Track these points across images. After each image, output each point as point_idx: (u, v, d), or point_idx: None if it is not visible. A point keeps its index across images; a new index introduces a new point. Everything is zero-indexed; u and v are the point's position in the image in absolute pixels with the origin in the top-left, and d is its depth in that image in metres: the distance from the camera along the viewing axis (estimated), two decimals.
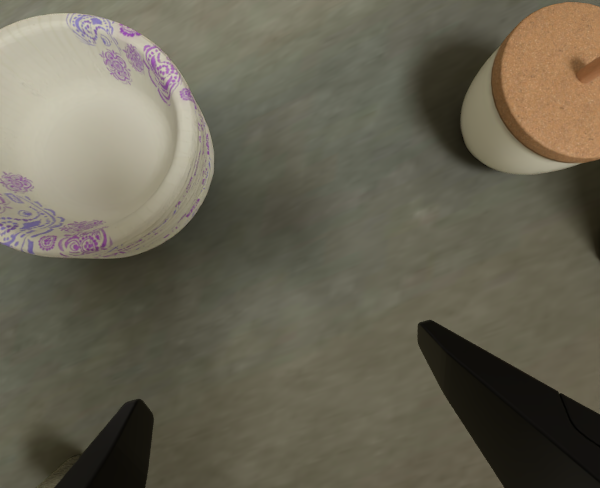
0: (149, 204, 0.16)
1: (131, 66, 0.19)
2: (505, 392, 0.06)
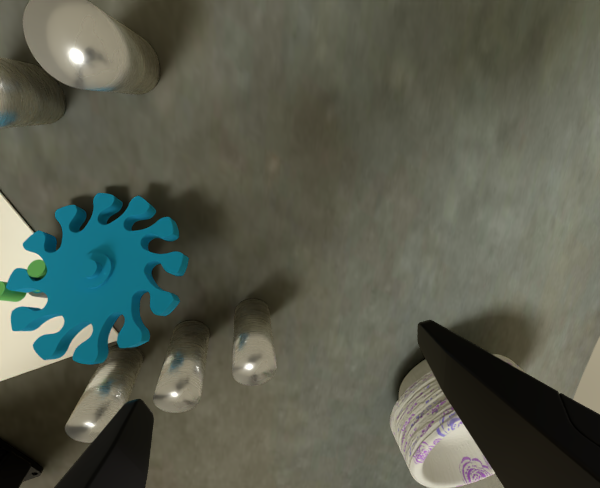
0: (421, 477, 0.27)
1: None
2: (505, 392, 0.06)
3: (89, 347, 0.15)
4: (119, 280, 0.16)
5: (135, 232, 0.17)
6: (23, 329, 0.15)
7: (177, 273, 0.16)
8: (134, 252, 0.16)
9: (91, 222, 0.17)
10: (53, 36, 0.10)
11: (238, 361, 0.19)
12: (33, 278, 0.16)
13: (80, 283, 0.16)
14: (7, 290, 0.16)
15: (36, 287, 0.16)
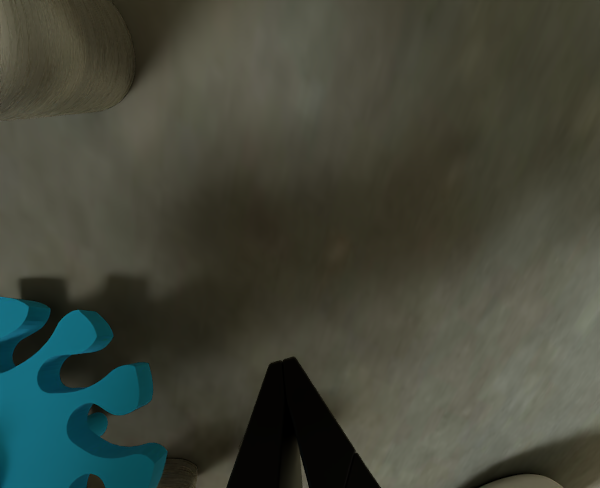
0: None
1: None
2: (314, 447, 0.06)
3: None
4: None
5: (59, 398, 0.08)
6: None
7: None
8: (50, 448, 0.08)
9: None
10: None
11: None
12: None
13: None
14: None
15: None
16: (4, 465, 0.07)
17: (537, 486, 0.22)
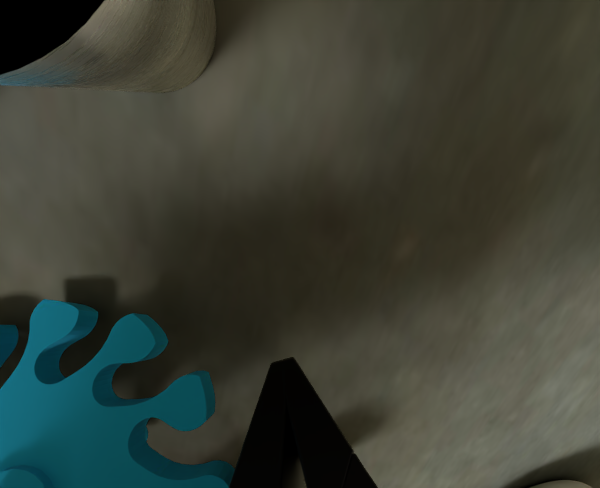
0: None
1: None
2: (311, 448, 0.06)
3: None
4: None
5: (118, 411, 0.07)
6: None
7: None
8: (111, 469, 0.07)
9: (19, 374, 0.07)
10: None
11: None
12: None
13: None
14: None
15: None
16: None
17: None
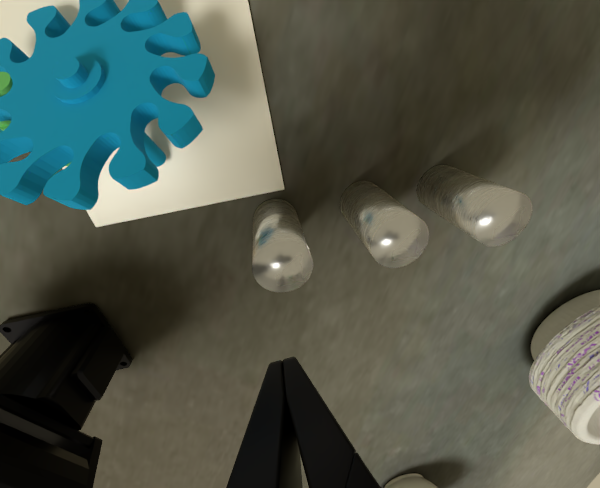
0: (587, 421, 0.23)
1: None
2: (313, 448, 0.06)
3: (67, 178, 0.10)
4: (113, 92, 0.11)
5: (137, 33, 0.11)
6: None
7: (198, 84, 0.11)
8: (135, 57, 0.11)
9: (76, 24, 0.12)
10: None
11: (496, 199, 0.14)
12: None
13: (56, 94, 0.10)
14: None
15: None
16: (107, 67, 0.11)
17: None
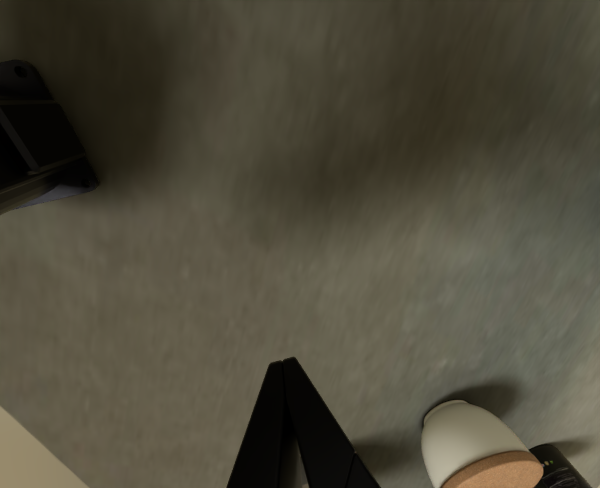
0: None
1: None
2: (314, 448, 0.06)
3: None
4: None
5: None
6: None
7: None
8: None
9: None
10: None
11: None
12: None
13: None
14: None
15: None
16: None
17: None
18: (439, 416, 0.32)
